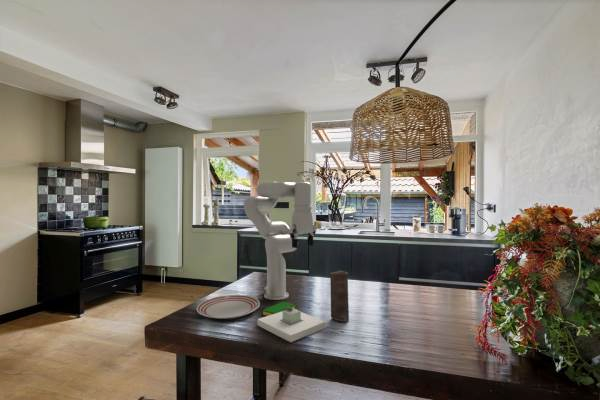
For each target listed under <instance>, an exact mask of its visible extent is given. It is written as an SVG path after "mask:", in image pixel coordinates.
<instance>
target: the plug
mask: <svg viewBox="0 0 600 400" xmlns="http://www.w3.org/2000/svg"><path fill="white" fill-rule="evenodd" d="M286 309H287V310H284V311H283V322H284V323H286V324H288V325H290V326H291V325H293V324H296V323H299V322H301V312H302V311H301V310H298V309H296V308H294V309H293V308H291V307H288V306H286Z"/></svg>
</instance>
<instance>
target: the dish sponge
mask: <svg viewBox="0 0 600 400" xmlns="http://www.w3.org/2000/svg"><path fill="white" fill-rule="evenodd" d="M286 306H288V307H291V308H293V309H295V304H294V303H290V302H287V301H281V302H278V303H276V304H273V305H271V306H269V307H266V308H265V309H262V312H263V313H262V315H264V316H265V317H266V316H269V315H272V314H276V313H279V312H282V311H284V310H287V309H286Z"/></svg>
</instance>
